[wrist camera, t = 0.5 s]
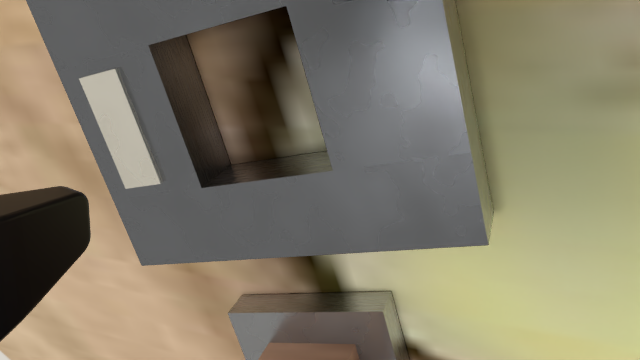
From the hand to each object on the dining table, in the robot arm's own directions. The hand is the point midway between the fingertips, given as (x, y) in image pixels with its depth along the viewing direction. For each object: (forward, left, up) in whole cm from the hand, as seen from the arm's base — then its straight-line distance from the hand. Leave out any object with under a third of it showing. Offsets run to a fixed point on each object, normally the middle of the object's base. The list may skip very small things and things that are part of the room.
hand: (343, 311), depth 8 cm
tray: (-13, +9, -14) cm, 21 cm away
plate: (+1, +8, -14) cm, 16 cm away
